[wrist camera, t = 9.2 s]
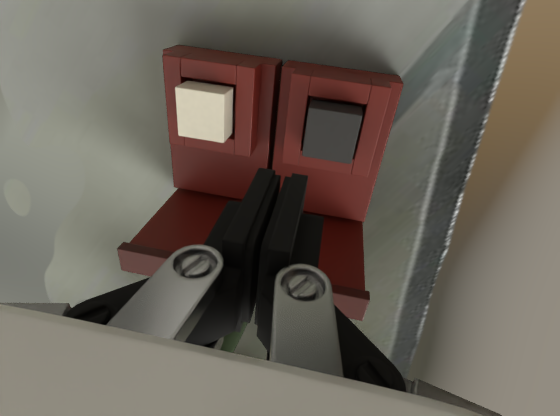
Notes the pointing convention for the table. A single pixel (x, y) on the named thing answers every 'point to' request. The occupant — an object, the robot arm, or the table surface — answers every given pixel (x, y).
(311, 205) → the red grey-inset block
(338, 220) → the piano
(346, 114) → the ebony key
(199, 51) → the red white-inset block
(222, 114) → the ivory key
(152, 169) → the table surface
